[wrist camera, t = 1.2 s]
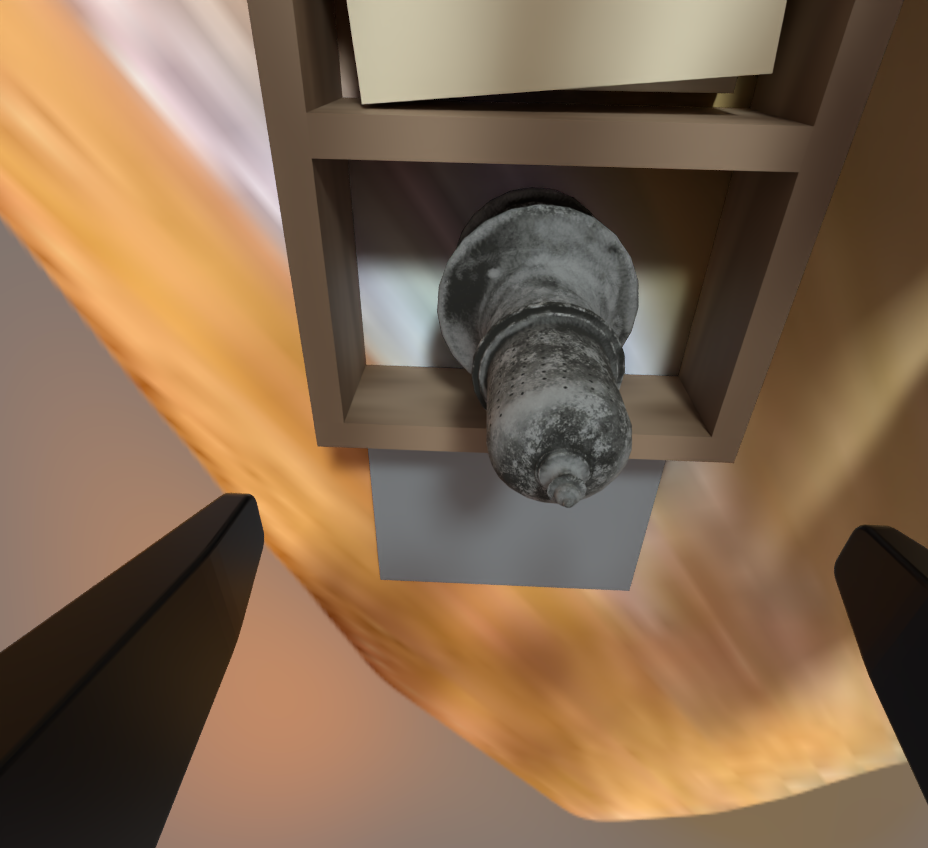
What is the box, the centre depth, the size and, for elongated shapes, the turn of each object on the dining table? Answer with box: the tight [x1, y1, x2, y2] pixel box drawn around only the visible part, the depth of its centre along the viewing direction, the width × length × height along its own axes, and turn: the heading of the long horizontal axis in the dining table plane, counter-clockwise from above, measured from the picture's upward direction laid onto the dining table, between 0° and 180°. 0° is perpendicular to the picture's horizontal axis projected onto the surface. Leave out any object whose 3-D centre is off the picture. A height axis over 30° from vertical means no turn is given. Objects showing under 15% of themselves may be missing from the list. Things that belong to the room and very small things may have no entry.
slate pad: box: [368, 448, 666, 591], centre depth 25 cm, size 12×8×1 cm
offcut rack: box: [247, 0, 904, 463], centre depth 16 cm, size 14×16×4 cm
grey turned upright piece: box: [437, 187, 638, 508], centre depth 15 cm, size 6×6×12 cm
